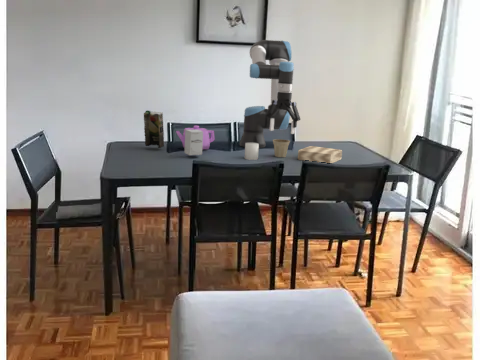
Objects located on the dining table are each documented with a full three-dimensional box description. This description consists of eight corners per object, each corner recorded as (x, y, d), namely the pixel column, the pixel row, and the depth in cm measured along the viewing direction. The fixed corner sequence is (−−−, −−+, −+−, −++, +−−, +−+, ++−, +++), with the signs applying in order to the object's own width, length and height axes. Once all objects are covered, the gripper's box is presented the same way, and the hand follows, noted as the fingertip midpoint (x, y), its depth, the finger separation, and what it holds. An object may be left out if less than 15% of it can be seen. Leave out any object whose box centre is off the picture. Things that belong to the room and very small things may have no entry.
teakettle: (216, 147, 325) (217, 125, 322) (200, 151, 310) (201, 128, 308) (191, 143, 333) (191, 122, 330) (174, 147, 318) (174, 125, 315)
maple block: (297, 159, 302) (298, 150, 300) (310, 154, 317) (310, 145, 316) (330, 164, 293) (331, 154, 292) (341, 159, 309) (342, 150, 308)
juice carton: (159, 112, 307) (164, 110, 313) (142, 110, 310) (148, 109, 316) (160, 148, 313) (165, 146, 319) (144, 146, 316) (149, 144, 322)
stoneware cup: (241, 158, 296) (242, 143, 295) (249, 156, 302) (250, 141, 300) (252, 160, 292) (253, 145, 291) (260, 159, 298) (261, 143, 296)
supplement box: (189, 155, 297) (190, 131, 294) (184, 153, 303) (184, 129, 300) (202, 155, 300) (203, 131, 297) (197, 152, 306) (197, 129, 304)
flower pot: (287, 158, 302) (289, 142, 300) (270, 157, 304) (271, 141, 302) (290, 155, 311) (291, 140, 309) (272, 154, 313) (273, 138, 311)
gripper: (261, 90, 304) (258, 129, 309) (301, 93, 289) (298, 135, 294) (269, 89, 310) (267, 128, 314) (308, 93, 295) (305, 134, 300)
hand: (282, 132), depth 304 cm, fingers open, 13 cm apart
